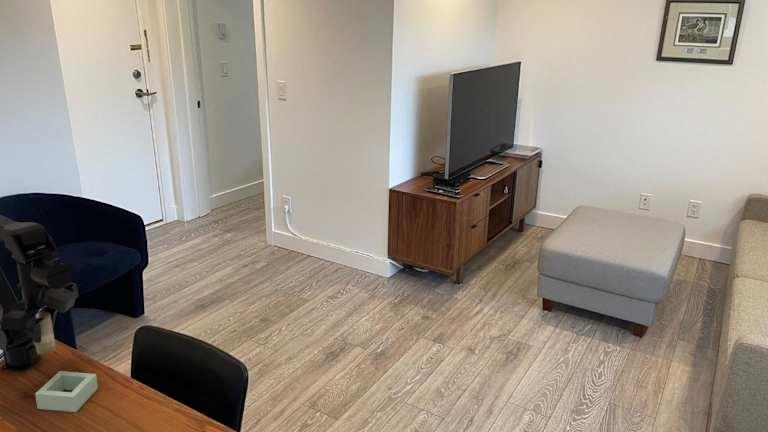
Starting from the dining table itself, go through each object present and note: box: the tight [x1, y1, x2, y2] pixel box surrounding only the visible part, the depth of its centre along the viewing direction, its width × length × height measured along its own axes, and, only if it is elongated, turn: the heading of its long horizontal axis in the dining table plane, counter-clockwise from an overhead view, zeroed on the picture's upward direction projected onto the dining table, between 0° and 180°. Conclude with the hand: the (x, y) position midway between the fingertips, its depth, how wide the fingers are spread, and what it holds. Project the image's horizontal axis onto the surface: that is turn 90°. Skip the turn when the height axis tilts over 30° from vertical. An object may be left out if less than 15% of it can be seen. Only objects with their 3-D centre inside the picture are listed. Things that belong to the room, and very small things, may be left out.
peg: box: [34, 312, 57, 355], centre depth 138 cm, size 4×4×9 cm
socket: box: [34, 370, 99, 413], centre depth 134 cm, size 9×9×4 cm
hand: (44, 337), depth 138 cm, fingers closed on peg, 4 cm apart
